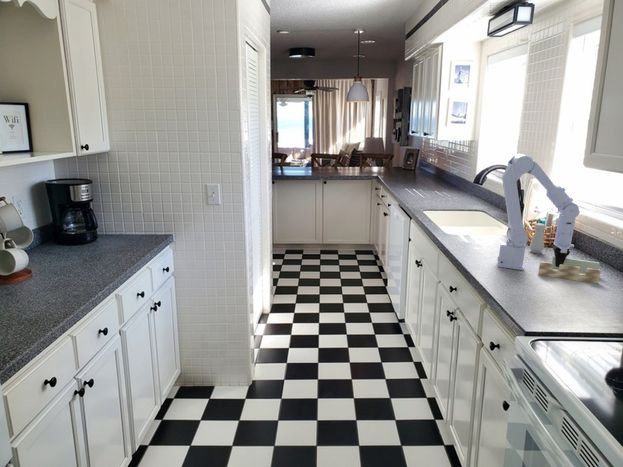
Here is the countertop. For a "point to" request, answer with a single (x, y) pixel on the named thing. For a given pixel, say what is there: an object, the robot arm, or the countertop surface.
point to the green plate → (577, 264)
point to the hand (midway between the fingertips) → (558, 266)
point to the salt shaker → (537, 239)
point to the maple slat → (569, 272)
